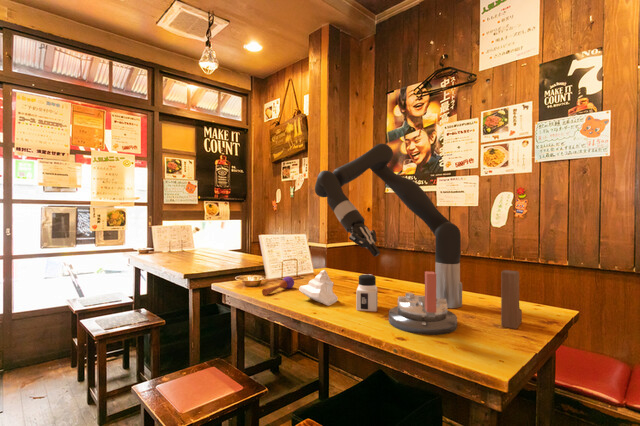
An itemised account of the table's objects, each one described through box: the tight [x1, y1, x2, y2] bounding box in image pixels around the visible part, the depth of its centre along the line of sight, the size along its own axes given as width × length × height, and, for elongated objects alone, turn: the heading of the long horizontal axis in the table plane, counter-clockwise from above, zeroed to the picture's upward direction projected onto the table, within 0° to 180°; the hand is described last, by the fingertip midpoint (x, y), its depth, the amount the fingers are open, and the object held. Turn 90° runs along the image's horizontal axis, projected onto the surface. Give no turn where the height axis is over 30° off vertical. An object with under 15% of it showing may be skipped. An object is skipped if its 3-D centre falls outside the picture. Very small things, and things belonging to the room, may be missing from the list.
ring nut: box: [397, 271, 448, 321], centre depth 108 cm, size 26×16×16 cm, turn 172°
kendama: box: [261, 276, 295, 297], centre depth 158 cm, size 6×6×20 cm
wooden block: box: [500, 269, 523, 330], centre depth 111 cm, size 9×4×18 cm, turn 140°
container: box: [355, 273, 379, 312], centre depth 130 cm, size 8×8×13 cm
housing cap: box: [388, 305, 458, 336], centre depth 112 cm, size 22×22×3 cm
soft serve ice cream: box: [298, 269, 339, 306], centre depth 140 cm, size 12×15×14 cm
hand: (377, 254), depth 110 cm, fingers closed
